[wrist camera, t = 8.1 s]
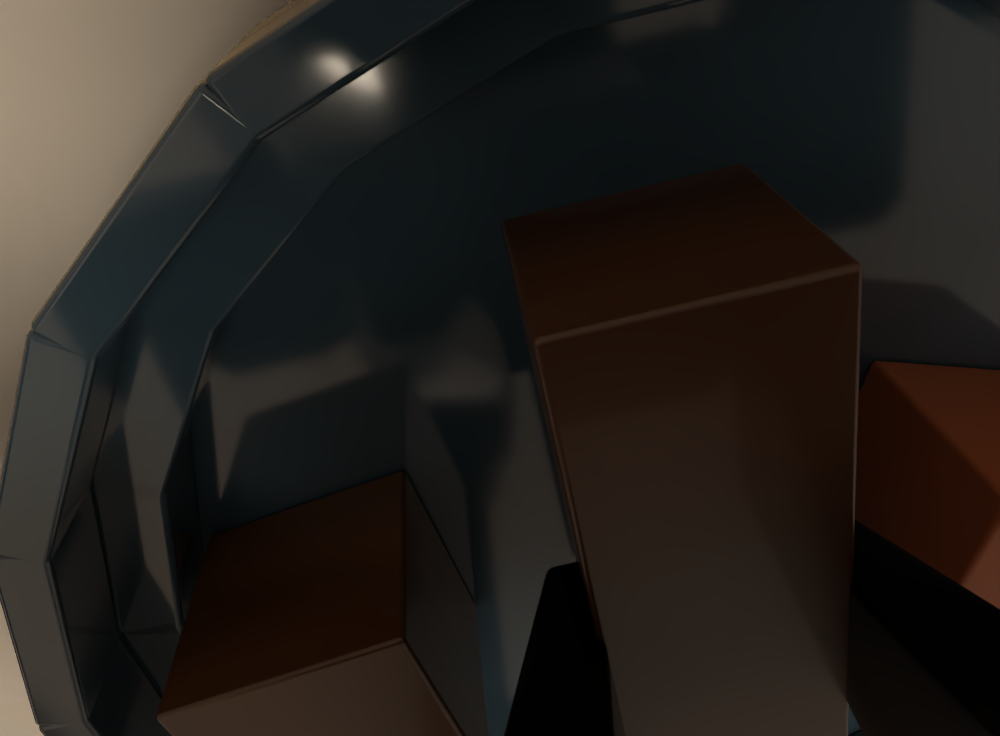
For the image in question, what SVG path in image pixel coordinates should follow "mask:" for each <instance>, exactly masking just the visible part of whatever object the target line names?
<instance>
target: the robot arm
mask: <svg viewBox="0 0 1000 736" xmlns="http://www.w3.org/2000/svg"><path fill="white" fill-rule="evenodd" d="M847 702H848V704H849V707H850V709H851V711H852V713H853V715H854V717H855V719H856V721H857V723H858V725H859V727H860V729H861V730H862V732H863V734H864V736H1000V609H999V608H997V607H996V606H994V605H992V604H991V603H989V602H988V601H986V600H984V599H983V598H981V597H979V596H978V595H976V594H975V593H973V592H971V591H970V590H968V589H967V588H965V587H963V586H962V585H960V584H959V583H957V582H955V581H954V580H952V579H951V578H949V577H947V576H946V575H944V574H942V573H941V572H939V571H938V570H936V569H934V568H933V567H931V566H930V565H928V564H926V563H925V562H923V561H922V560H920V559H918V558H917V557H915V556H914V555H912V554H910V553H909V552H907V551H905V550H904V549H902V548H901V547H899V546H897V545H896V544H894V543H893V542H891V541H889V540H888V539H886V538H885V537H883V536H881V535H880V534H878V533H876V532H875V531H873V530H872V529H870V528H868V527H867V526H865V525H864V524H862V523H860V522H859V521H857V520H856V519H855V526H854V558H853V584H852V585H851V587H850V601H849V635H848V670H847ZM504 736H626V735H625V731H624V726H623V721H622V717H621V712H620V707H619V703H618V698H617V693H616V689H615V684H614V679H613V675H612V670H611V665H610V661H609V656H608V651H607V647H606V644H605V642H604V641H602V640H600V639H599V638H598V637H597V635H596V631H595V627H594V623H593V619H592V615H591V611H590V607H589V604H588V600H587V596H586V592H585V588H584V584H583V580H582V576H581V572H580V568H579V564H578V561H577V562H572V563H568V564H563V565H559V566H555V567H551V568H550V569H549V570H548V571H547V573H546V576H545V580H544V583H543V587H542V591H541V595H540V599H539V603H538V606H537V610H536V614H535V618H534V622H533V626H532V629H531V633H530V637H529V641H528V645H527V649H526V652H525V656H524V660H523V664H522V668H521V672H520V675H519V679H518V683H517V687H516V691H515V695H514V698H513V702H512V706H511V710H510V714H509V718H508V721H507V725H506V729H505V733H504Z"/></svg>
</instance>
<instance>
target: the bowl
mask: <svg viewBox="0 0 1000 736" xmlns="http://www.w3.org/2000/svg"><path fill="white" fill-rule="evenodd" d="M737 164H746V165H747V166H748V167H749V168H751V169H752V170H753V171H754V172H755V173H756V174H757V175H759V176H760V177H761V178H762V179H763V180H764V181H766V182H767V183H768V184H769V185H770V186H771V187H773V188H774V189H775V190H776V191H777V192H778V193H779V194H781V195H782V196H783V197H784V198H785V199H786V200H788V201H789V202H790V203H791V204H792V205H793V206H795V207H796V208H797V209H798V210H799V211H800V212H801V213H803V214H804V215H805V216H806V217H807V218H808V219H810V220H811V221H812V222H813V223H814V224H815V225H817V226H818V227H819V228H820V229H821V230H822V231H823V232H825V233H826V234H827V235H828V236H829V237H830V238H832V239H833V240H834V241H835V242H836V243H837V244H839V245H840V246H841V247H842V248H843V249H844V250H845V251H847V252H848V253H849V254H850V255H851V256H852V257H854V258H855V259H856V260H857V261H858V262H859V263H860V264H861V266H862V270H863V274H862V306H861V337H860V369H859V392H860V389H861V387H862V385H863V382H864V380H865V378H866V375H867V373H868V371H869V368H870V366H871V364H872V363H873V362H874V361H888V362H901V363H914V364H927V365H940V366H952V367H965V368H978V369H991V370H1000V0H292V1H291V2H289V3H288V4H286V5H285V6H283V7H282V8H280V9H279V10H277V11H276V12H275V13H273V14H272V15H270V16H269V17H267V18H266V19H264V20H263V21H261V22H260V23H258V24H257V25H256V26H255V27H254V28H253V29H252V30H251V31H250V32H249V33H248V34H247V35H246V36H245V37H244V38H243V39H242V40H241V41H240V42H239V43H238V44H237V45H236V46H235V47H234V48H233V49H232V50H231V51H230V52H229V53H228V54H227V55H226V56H225V57H224V58H223V59H222V60H221V61H220V62H219V63H218V64H217V65H216V66H215V67H214V68H213V69H212V70H211V71H210V72H209V73H208V74H207V75H206V76H205V77H204V78H203V79H202V80H201V81H200V82H199V83H198V84H197V85H196V86H195V88H194V89H193V90H192V92H191V93H190V95H189V96H188V98H187V99H186V101H185V102H184V103H183V105H182V106H181V108H180V109H179V111H178V112H177V114H176V115H175V116H174V118H173V119H172V121H171V122H170V124H169V125H168V126H167V128H166V129H165V131H164V132H163V134H162V135H161V137H160V138H159V139H158V141H157V142H156V144H155V145H154V147H153V148H152V150H151V151H150V152H149V154H148V155H147V157H146V158H145V160H144V161H143V162H142V164H141V165H140V167H139V168H138V170H137V171H136V173H135V174H134V175H133V177H132V178H131V180H130V181H129V183H128V184H127V186H126V187H125V188H124V190H123V191H122V193H121V194H120V196H119V197H118V199H117V200H116V201H115V203H114V204H113V206H112V207H111V209H110V210H109V211H108V213H107V214H106V216H105V217H104V219H103V220H102V222H101V223H100V224H99V226H98V227H97V229H96V230H95V232H94V233H93V235H92V236H91V237H90V239H89V240H88V242H87V243H86V245H85V246H84V248H83V249H82V250H81V252H80V253H79V255H78V256H77V258H76V259H75V260H74V262H73V263H72V265H71V266H70V268H69V269H68V271H67V272H66V273H65V275H64V276H63V278H62V279H61V281H60V282H59V284H58V285H57V286H56V288H55V289H54V291H53V292H52V294H51V295H50V296H49V298H48V299H47V301H46V302H45V304H44V305H43V307H42V308H41V309H40V311H39V312H38V314H37V315H36V317H35V318H34V320H33V321H32V328H31V330H30V331H29V332H28V334H27V335H26V341H25V346H24V351H23V357H22V362H21V368H20V373H19V379H18V384H17V390H16V395H15V401H14V406H13V411H12V417H11V422H10V428H9V433H8V439H7V444H6V450H5V455H4V461H3V466H2V471H1V477H0V601H1V604H2V608H3V611H4V615H5V618H6V622H7V625H8V629H9V632H10V635H11V639H12V642H13V646H14V649H15V653H16V656H17V660H18V663H19V667H20V670H21V673H22V677H23V680H24V684H25V687H26V691H27V694H28V698H29V701H30V705H31V708H32V711H33V715H34V718H35V722H36V723H37V724H38V725H39V728H40V731H41V732H42V733H43V734H44V736H172V735H171V734H170V733H169V732H168V731H167V730H166V729H165V728H164V727H163V726H162V725H161V724H160V723H159V722H158V719H157V712H158V709H159V705H160V702H161V699H162V695H163V692H164V689H165V685H166V682H167V679H168V675H169V672H170V668H171V665H172V662H173V658H174V655H175V652H176V648H177V645H178V642H179V638H180V635H181V631H182V628H183V625H184V621H185V618H186V615H187V611H188V608H189V605H190V601H191V598H192V595H193V591H194V588H195V584H196V581H197V578H198V574H199V571H200V568H201V564H202V561H203V558H204V554H205V551H206V547H207V544H208V541H209V538H210V537H211V536H212V535H213V534H216V533H219V532H222V531H225V530H228V529H230V528H233V527H236V526H239V525H242V524H245V523H248V522H251V521H254V520H257V519H260V518H263V517H266V516H269V515H272V514H275V513H278V512H281V511H284V510H287V509H289V508H292V507H295V506H298V505H301V504H304V503H307V502H310V501H313V500H316V499H319V498H322V497H325V496H328V495H331V494H334V493H337V492H340V491H343V490H346V489H349V488H351V487H354V486H357V485H360V484H363V483H366V482H369V481H372V480H375V479H378V478H381V477H384V476H387V475H390V474H393V473H396V472H399V471H403V472H405V474H406V475H407V477H408V479H409V481H410V483H411V485H412V486H413V488H414V490H415V492H416V494H417V496H418V498H419V500H420V502H421V504H422V505H423V507H424V509H425V511H426V513H427V515H428V517H429V519H430V521H431V522H432V524H433V526H434V528H435V530H436V532H437V534H438V536H439V538H440V540H441V541H442V543H443V545H444V547H445V549H446V551H447V553H448V555H449V557H450V558H451V560H452V562H453V564H454V566H455V568H456V570H457V572H458V574H459V576H460V577H461V579H462V581H463V583H464V585H465V587H466V589H467V591H468V593H469V595H470V596H471V598H472V600H473V602H474V604H475V606H476V615H477V625H478V636H479V646H480V657H481V667H482V677H483V688H484V698H485V708H486V719H487V729H488V736H504V733H505V729H506V725H507V721H508V718H509V714H510V710H511V706H512V702H513V698H514V695H515V691H516V687H517V683H518V679H519V675H520V672H521V668H522V664H523V660H524V656H525V652H526V649H527V645H528V641H529V637H530V633H531V629H532V626H533V622H534V618H535V614H536V610H537V606H538V603H539V599H540V595H541V591H542V587H543V583H544V580H545V576H546V573H547V571H548V570H549V569H550V568H551V567H555V566H559V565H563V564H568V563H572V562H576V557H575V553H574V548H573V544H572V540H571V535H570V531H569V526H568V522H567V517H566V513H565V509H564V504H563V500H562V495H561V491H560V486H559V482H558V478H557V473H556V469H555V464H554V460H553V455H552V451H551V447H550V442H549V438H548V433H547V429H546V424H545V420H544V416H543V411H542V407H541V402H540V398H539V393H538V389H537V385H536V380H535V376H534V371H533V367H532V362H531V358H530V354H529V349H528V345H527V340H526V336H525V331H524V327H523V323H522V318H521V314H520V309H519V305H518V301H517V296H516V292H515V287H514V283H513V278H512V274H511V270H510V265H509V261H508V256H507V252H506V247H505V243H504V239H503V234H502V230H501V224H502V222H503V221H504V220H506V219H511V218H515V217H519V216H523V215H527V214H532V213H536V212H540V211H544V210H548V209H552V208H557V207H561V206H565V205H569V204H573V203H578V202H582V201H586V200H590V199H594V198H599V197H603V196H607V195H611V194H615V193H620V192H624V191H628V190H632V189H636V188H640V187H645V186H649V185H653V184H657V183H661V182H666V181H670V180H674V179H678V178H682V177H687V176H691V175H695V174H699V173H703V172H708V171H712V170H716V169H720V168H724V167H729V166H733V165H737ZM848 736H864V734H863V732H862V730H861V729H860V727H859V725H858V723H857V721H856V719H855V717H854V715H853V713H852V711H851V709H850V707H849V715H848Z"/></svg>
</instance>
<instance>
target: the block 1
mask: <svg viewBox="0 0 1000 736" xmlns="http://www.w3.org/2000/svg"><path fill="white" fill-rule="evenodd" d="M157 719H158V722H159V723H160V724H161V725H162V726H163V727H164V728H165V729H166V730H167V731H168V732H169V733H170V734H171V735H172V736H488V729H487V719H486V708H485V698H484V688H483V677H482V667H481V657H480V646H479V636H478V625H477V615H476V606H475V604H474V602H473V600H472V598H471V596H470V595H469V593H468V591H467V589H466V587H465V585H464V583H463V581H462V579H461V577H460V576H459V574H458V572H457V570H456V568H455V566H454V564H453V562H452V560H451V558H450V557H449V555H448V553H447V551H446V549H445V547H444V545H443V543H442V541H441V540H440V538H439V536H438V534H437V532H436V530H435V528H434V526H433V524H432V522H431V521H430V519H429V517H428V515H427V513H426V511H425V509H424V507H423V505H422V504H421V502H420V500H419V498H418V496H417V494H416V492H415V490H414V488H413V486H412V485H411V483H410V481H409V479H408V477H407V475H406V474H405V472H403V471H399V472H396V473H393V474H390V475H387V476H384V477H381V478H378V479H375V480H372V481H369V482H366V483H363V484H360V485H357V486H354V487H351V488H349V489H346V490H343V491H340V492H337V493H334V494H331V495H328V496H325V497H322V498H319V499H316V500H313V501H310V502H307V503H304V504H301V505H298V506H295V507H292V508H289V509H287V510H284V511H281V512H278V513H275V514H272V515H269V516H266V517H263V518H260V519H257V520H254V521H251V522H248V523H245V524H242V525H239V526H236V527H233V528H230V529H228V530H225V531H222V532H219V533H216V534H213V535H212V536H211V537H210V538H209V541H208V544H207V547H206V551H205V554H204V558H203V561H202V564H201V568H200V571H199V574H198V578H197V581H196V584H195V588H194V591H193V595H192V598H191V601H190V605H189V608H188V611H187V615H186V618H185V621H184V625H183V628H182V631H181V635H180V638H179V642H178V645H177V648H176V652H175V655H174V658H173V662H172V665H171V668H170V672H169V675H168V679H167V682H166V685H165V689H164V692H163V695H162V699H161V702H160V705H159V709H158V712H157Z"/></svg>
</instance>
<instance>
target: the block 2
mask: <svg viewBox="0 0 1000 736" xmlns="http://www.w3.org/2000/svg"><path fill="white" fill-rule="evenodd" d="M855 519H856V520H857V521H859V522H860V523H862V524H864V525H865V526H867V527H868V528H870V529H872V530H873V531H875V532H876V533H878V534H880V535H881V536H883V537H885V538H886V539H888V540H889V541H891V542H893V543H894V544H896V545H897V546H899V547H901V548H902V549H904V550H905V551H907V552H909V553H910V554H912V555H914V556H915V557H917V558H918V559H920V560H922V561H923V562H925V563H926V564H928V565H930V566H931V567H933V568H934V569H936V570H938V571H939V572H941V573H942V574H944V575H946V576H947V577H949V578H951V579H952V580H954V581H955V582H957V583H959V584H960V585H962V586H963V587H965V588H967V589H968V590H970V591H971V592H973V593H975V594H976V595H978V596H979V597H981V598H983V599H984V600H986V601H988V602H989V603H991V604H992V605H994V606H996V607H997V608H999V609H1000V370H991V369H978V368H965V367H952V366H940V365H927V364H914V363H901V362H888V361H874V362H873V363H872V364H871V366H870V368H869V371H868V373H867V375H866V378H865V380H864V382H863V385H862V387H861V389H860V392H859V400H858V432H857V463H856V495H855Z"/></svg>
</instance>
